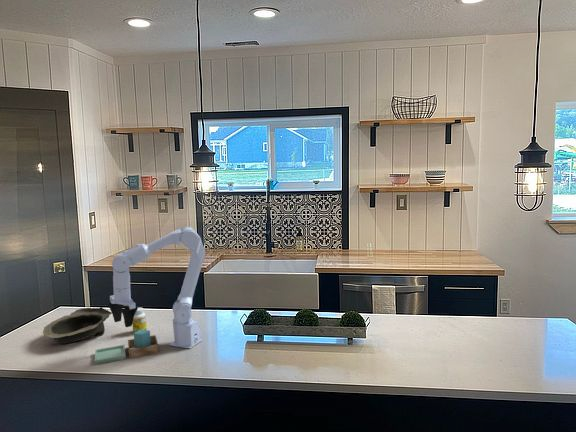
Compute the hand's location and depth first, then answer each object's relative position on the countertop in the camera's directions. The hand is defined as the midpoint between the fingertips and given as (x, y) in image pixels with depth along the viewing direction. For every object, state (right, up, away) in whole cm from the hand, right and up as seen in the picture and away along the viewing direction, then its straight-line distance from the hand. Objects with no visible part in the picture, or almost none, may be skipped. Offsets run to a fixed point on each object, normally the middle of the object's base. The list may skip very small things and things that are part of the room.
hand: (123, 323), depth 161 cm
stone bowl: (-24, -10, +18) cm, 32 cm away
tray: (-4, -11, -1) cm, 12 cm away
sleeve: (+6, -10, +3) cm, 13 cm away
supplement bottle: (-1, -9, +21) cm, 23 cm away
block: (+6, -10, +3) cm, 13 cm away
